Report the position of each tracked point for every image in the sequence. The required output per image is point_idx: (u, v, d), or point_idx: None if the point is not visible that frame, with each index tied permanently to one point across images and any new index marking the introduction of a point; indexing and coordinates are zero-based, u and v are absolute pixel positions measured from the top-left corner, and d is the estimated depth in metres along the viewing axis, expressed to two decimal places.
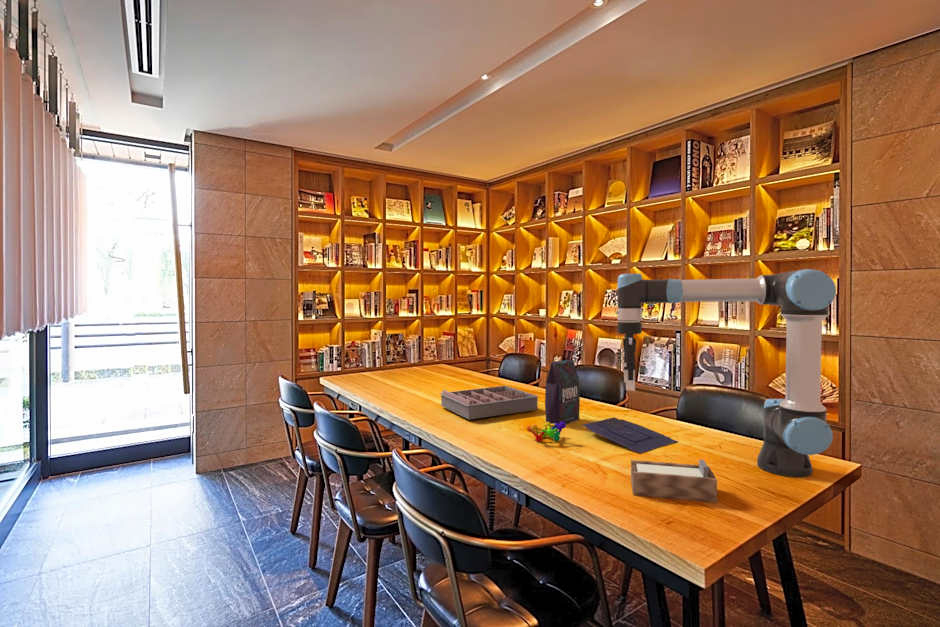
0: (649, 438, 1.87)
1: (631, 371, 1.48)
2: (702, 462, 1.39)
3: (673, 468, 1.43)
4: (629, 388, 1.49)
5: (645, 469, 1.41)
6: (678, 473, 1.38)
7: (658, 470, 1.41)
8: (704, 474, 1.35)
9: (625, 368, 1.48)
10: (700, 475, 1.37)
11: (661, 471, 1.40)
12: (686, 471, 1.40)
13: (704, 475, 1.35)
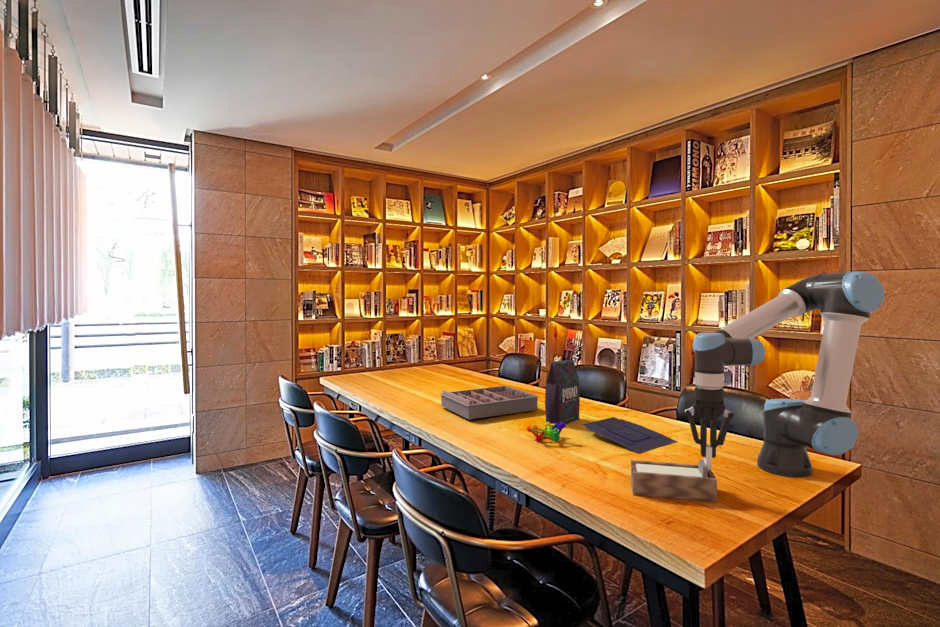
0: (648, 438, 1.88)
1: (701, 446, 1.38)
2: (701, 462, 1.39)
3: (673, 468, 1.43)
4: None
5: (644, 469, 1.41)
6: (677, 473, 1.38)
7: (657, 470, 1.41)
8: (703, 474, 1.35)
9: None
10: (699, 475, 1.37)
11: (660, 470, 1.40)
12: (685, 471, 1.40)
13: (703, 475, 1.35)
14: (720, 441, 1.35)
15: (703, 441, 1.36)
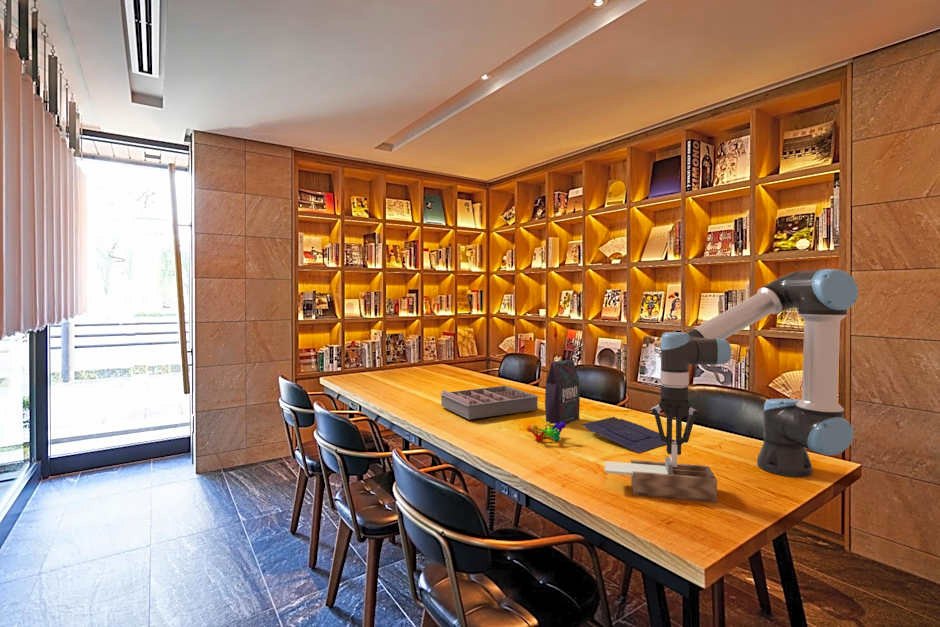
0: (648, 438, 1.88)
1: (667, 444, 1.40)
2: (668, 459, 1.41)
3: (640, 465, 1.45)
4: None
5: (612, 467, 1.44)
6: (644, 470, 1.41)
7: (625, 467, 1.43)
8: (669, 471, 1.37)
9: None
10: (665, 472, 1.39)
11: (627, 468, 1.43)
12: (652, 468, 1.42)
13: (669, 472, 1.37)
14: (685, 439, 1.38)
15: (669, 439, 1.39)
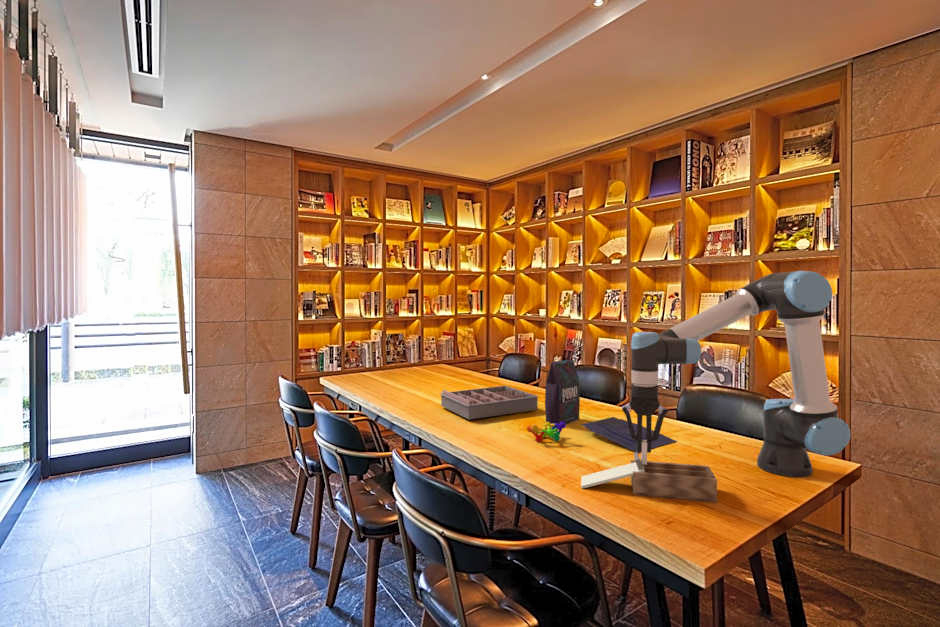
0: None
1: (637, 442, 1.42)
2: (635, 455, 1.43)
3: (614, 469, 1.47)
4: (641, 460, 1.43)
5: (588, 480, 1.46)
6: (617, 473, 1.43)
7: (599, 476, 1.45)
8: (638, 467, 1.39)
9: None
10: (636, 468, 1.41)
11: (602, 476, 1.45)
12: (624, 469, 1.44)
13: (638, 468, 1.39)
14: (655, 437, 1.40)
15: (639, 437, 1.41)
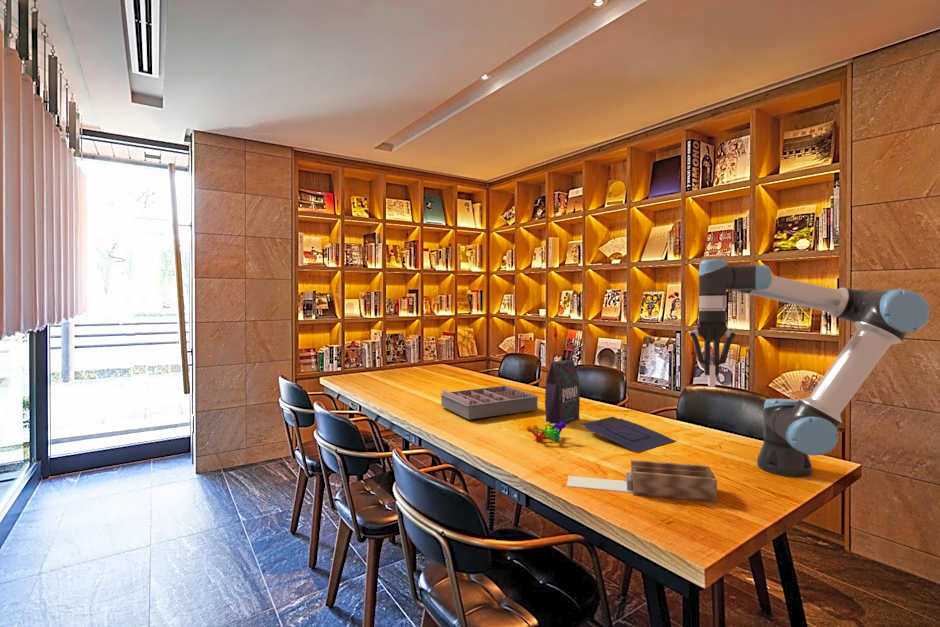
0: (647, 437, 1.88)
1: (705, 366, 1.48)
2: (628, 475, 1.44)
3: (602, 480, 1.48)
4: (708, 383, 1.48)
5: (574, 482, 1.47)
6: (605, 486, 1.44)
7: (587, 483, 1.47)
8: (628, 487, 1.41)
9: None
10: (625, 488, 1.42)
11: (589, 483, 1.46)
12: (613, 484, 1.46)
13: (628, 488, 1.41)
14: (723, 359, 1.46)
15: (707, 360, 1.47)
